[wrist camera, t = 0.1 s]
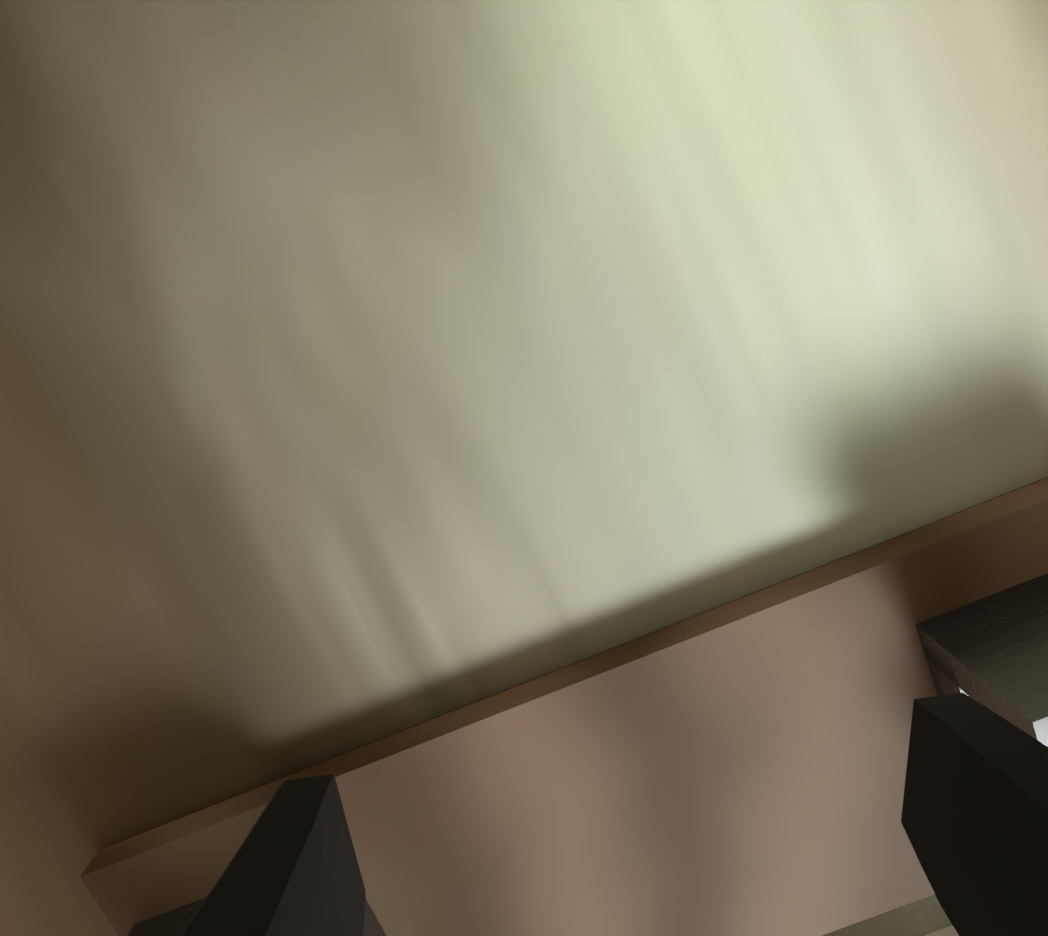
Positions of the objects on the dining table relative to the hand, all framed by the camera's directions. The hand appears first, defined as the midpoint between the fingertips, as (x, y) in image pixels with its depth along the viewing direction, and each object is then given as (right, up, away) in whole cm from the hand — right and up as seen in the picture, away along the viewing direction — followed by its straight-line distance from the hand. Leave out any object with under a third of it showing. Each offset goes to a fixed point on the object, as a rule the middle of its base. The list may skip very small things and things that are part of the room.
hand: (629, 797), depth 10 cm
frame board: (+2, -5, +12) cm, 14 cm away
